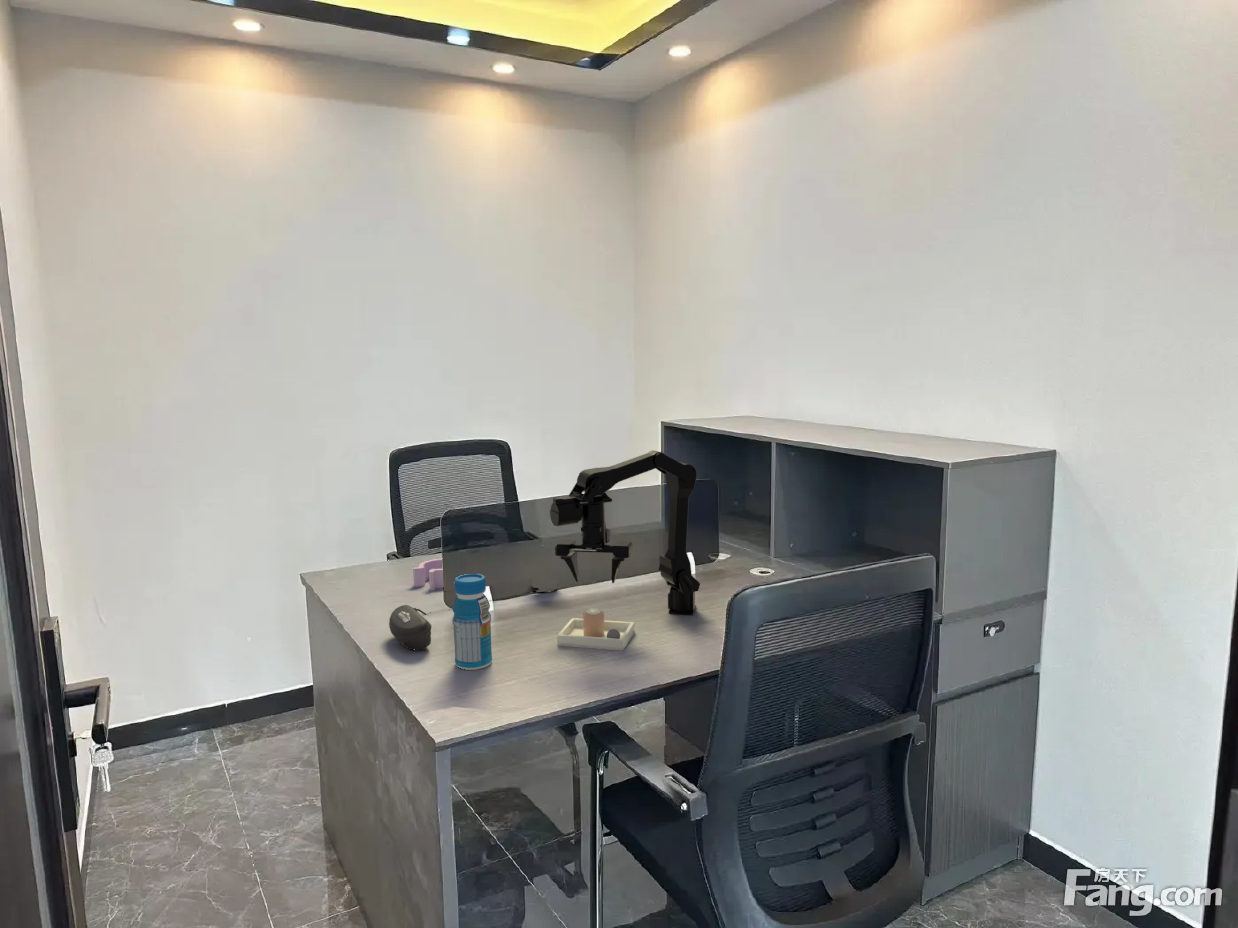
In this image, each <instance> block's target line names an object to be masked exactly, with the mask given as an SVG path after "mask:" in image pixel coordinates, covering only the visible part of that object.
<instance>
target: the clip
mask: <svg viewBox="0 0 1238 928" xmlns="http://www.w3.org/2000/svg"><path fill="white" fill-rule="evenodd" d="M442 559H443V558H434V559H429V560H425V561H423V562H421V563H419V564H418V566H417V567H412V574H413V587H415V588H417V587H419V588H420V587H424V586H426V581H429V582H428V583H429V590H430V591H435V590H436V589H444V588H443V569H442Z"/></svg>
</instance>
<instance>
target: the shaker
mask: <svg viewBox="0 0 1238 928" xmlns="http://www.w3.org/2000/svg"><path fill="white" fill-rule="evenodd" d="M582 614H583V618H582V619H583V629H584V636H589V637H602V636H604V620H605V612H604V611H602V610H601V609H600V608H595V607H594V608H592V607H591V608H588V609H586V611H583V613H582Z"/></svg>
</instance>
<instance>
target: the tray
mask: <svg viewBox="0 0 1238 928" xmlns="http://www.w3.org/2000/svg"><path fill="white" fill-rule="evenodd" d="M611 629H616V630H618V631H619V633H620V639H615V638H607V633H608V631H609V630H611ZM634 634H635V622H632V621H619V620H618V621H617V620H605V619H604V636H602V637H589V636H584V629H583V618H577V617H571V618H570V620H569V621H568V622H567V623H566V625H564V627H563V628H562V629H561V630H560V631H559V632H558V634H557V635H556V641H557V642H556V644H557V646H558V647H559V646H560V647H571V648H583V649H584V648H586V649H595V650H596V649H598V650H607V651H608V650H609V651H624V650H625V648H627V647H626V646H627V645H628V644H629V642H630V640H631V639H632V636H633V635H634Z"/></svg>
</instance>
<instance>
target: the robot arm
mask: <svg viewBox="0 0 1238 928" xmlns="http://www.w3.org/2000/svg"><path fill="white" fill-rule="evenodd" d="M655 469H656V470H657V471H658V472H660V473H662V474H663V475H665V484H666V487H667V490H668V494H669V497H670V500H669V501H670V502H669V517H668V518H669V519H668V521H669V523H668V537H667V538H668V541H667V551H666V552H665V554H664V555H660V556H659V558H658V560H659V567H658V571H659V572H660V577H662V579H663V580H664V581H665V583H666V585H667V586H669V587H670V588H669V592H668V593H667V609H668V614H673V615H674V614H676V615H691V616H692V615H694V613H695V611H696V610H697V605H696V592H698V591H699V589H700V586H701V583H700V582H699V580H698V579H696V578H695V577H694V576H693V575H692V564H691V562H690V558H689V556H688V553H687V543H688V542H687V541H688V522H689V508H690V506H689V504H690V496H691V495H692V494H693V491H694V490H695V487H696V483H697V478H698V471H697V469H696V468H695V467H694V466H693V465H691V464H688V463H685V462H680V461H677V460H676V459H674V458H672V457H669V456H668V455H666V454H665V453H664V452H662V451H658V450H650V451H648V452H647V453H643V454H641V455H639V456H636V457H633V458H630V459H627V460H625V461H622V462H619V463H616V464H614V465H611V466H604V467H603V466H602V467H601V466H600V467H593V468H587V469H586V468H585V469H583V470H581V471H580V472H579V473H578V476H577V477H576V478H577V479H576V483H575V484H574V486H573V487H572V490H571V491H570V493H569V494H568V496H565V497H553V499H552V503H551V505H550V510H549V516H550V521H551V522H552V524H553V525H554V526H557V527H561V526H568V525H569V526H570V525H575V524H578V523H579V522H580V521H581V527H580V532H581V541H582V543H579V544H578V543H577V542H576V540H575V539H562V540H560V541H558V544H557V545H556V546H555V555H556V556H558V557H560V560H563V561H564V562H565V564H566V565H567V567H568V568H569V570H570V571H571V574H572V576H573V578H574V580H575V582H576V583H578V582H579V581H580V580H579V579H580V577H579V576H580V575H579V574H580V572H579V565H578V553H605V554H606V553H607V554H609V553H611V554H612V556H613V557H612V559H611V583H612V584H614V583H615V582H616V578H617V575H618V571H619V568H620V565H621V563H622V562H624V561H625V560H626V559H628V558H630V557H631V556H632V554H633V553H634V544H633V542H632V541H629V540H625V541H622V540H618V541H616V542H615V543H614V544H608V543H610V539H611V530H610V529H608V528H607V524H606V522H605V521H606V520H605V504H606V503H612V502H613V499H612V498H611V497H610V496H609V495H608V494H607V493H606V492H608V491H609V490H610V491H611V489H612V488H613V487H614V486H616V484H619V482H620V483H621V482H623V481H625V480H627V479H631V478H633V477H636V476H638V475H642V474H644V473H647V472H650V471H652V470H655Z"/></svg>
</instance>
